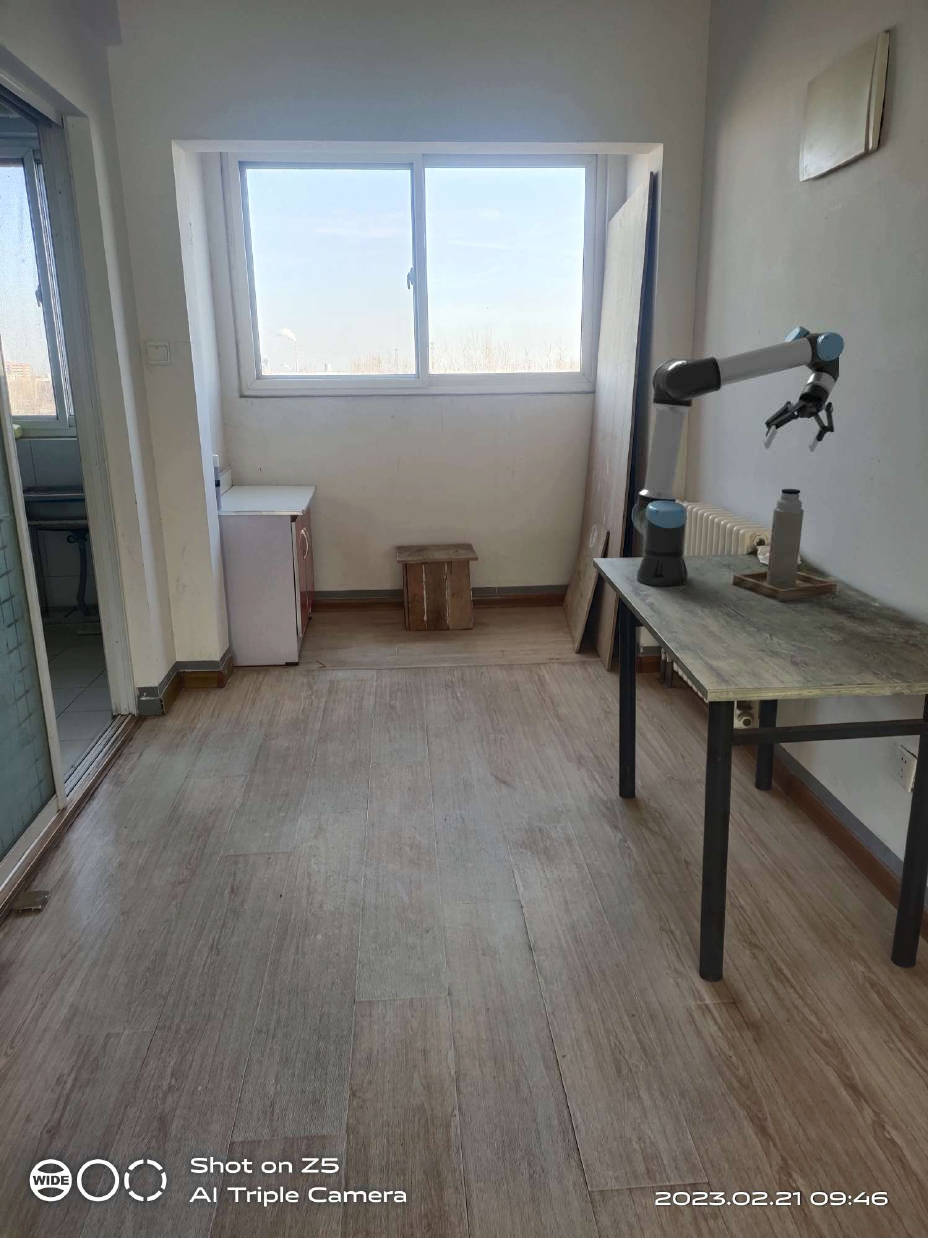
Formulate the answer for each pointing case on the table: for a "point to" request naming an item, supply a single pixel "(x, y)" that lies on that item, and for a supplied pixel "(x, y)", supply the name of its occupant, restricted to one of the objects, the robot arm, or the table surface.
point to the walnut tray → (802, 589)
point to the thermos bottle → (785, 540)
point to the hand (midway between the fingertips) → (787, 447)
